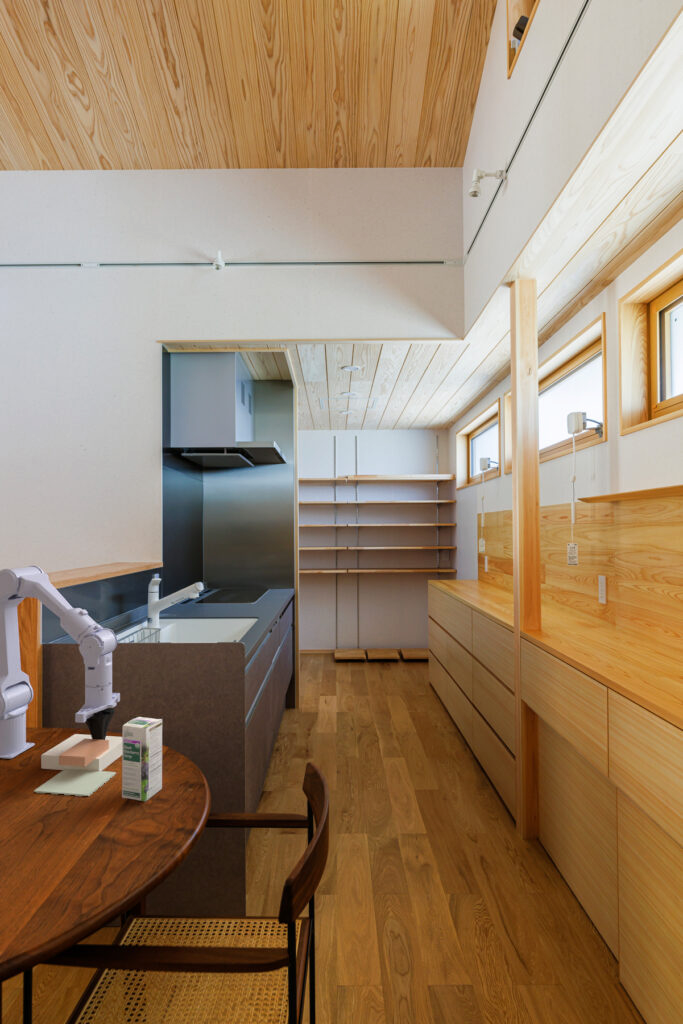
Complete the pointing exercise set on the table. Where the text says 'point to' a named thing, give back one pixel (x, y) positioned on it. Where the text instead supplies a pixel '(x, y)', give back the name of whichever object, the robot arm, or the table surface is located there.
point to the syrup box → (141, 758)
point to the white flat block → (101, 762)
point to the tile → (83, 752)
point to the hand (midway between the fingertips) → (98, 742)
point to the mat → (75, 782)
